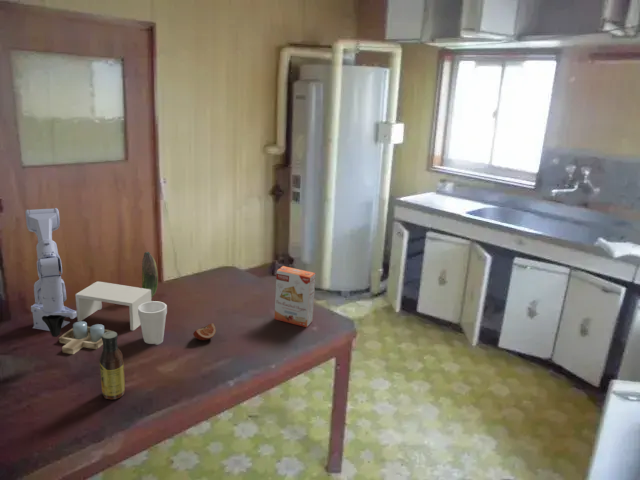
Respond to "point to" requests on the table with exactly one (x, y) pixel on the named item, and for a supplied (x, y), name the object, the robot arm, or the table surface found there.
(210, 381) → the table surface
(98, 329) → the grey-blue tapered cylinder
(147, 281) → the vegetable
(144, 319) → the foam cup
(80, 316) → the shelf
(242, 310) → the table surface
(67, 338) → the serving board
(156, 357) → the table surface
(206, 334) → the fruit slice
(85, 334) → the pale blue rounded cylinder
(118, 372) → the sauce bottle
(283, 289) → the cracker box
